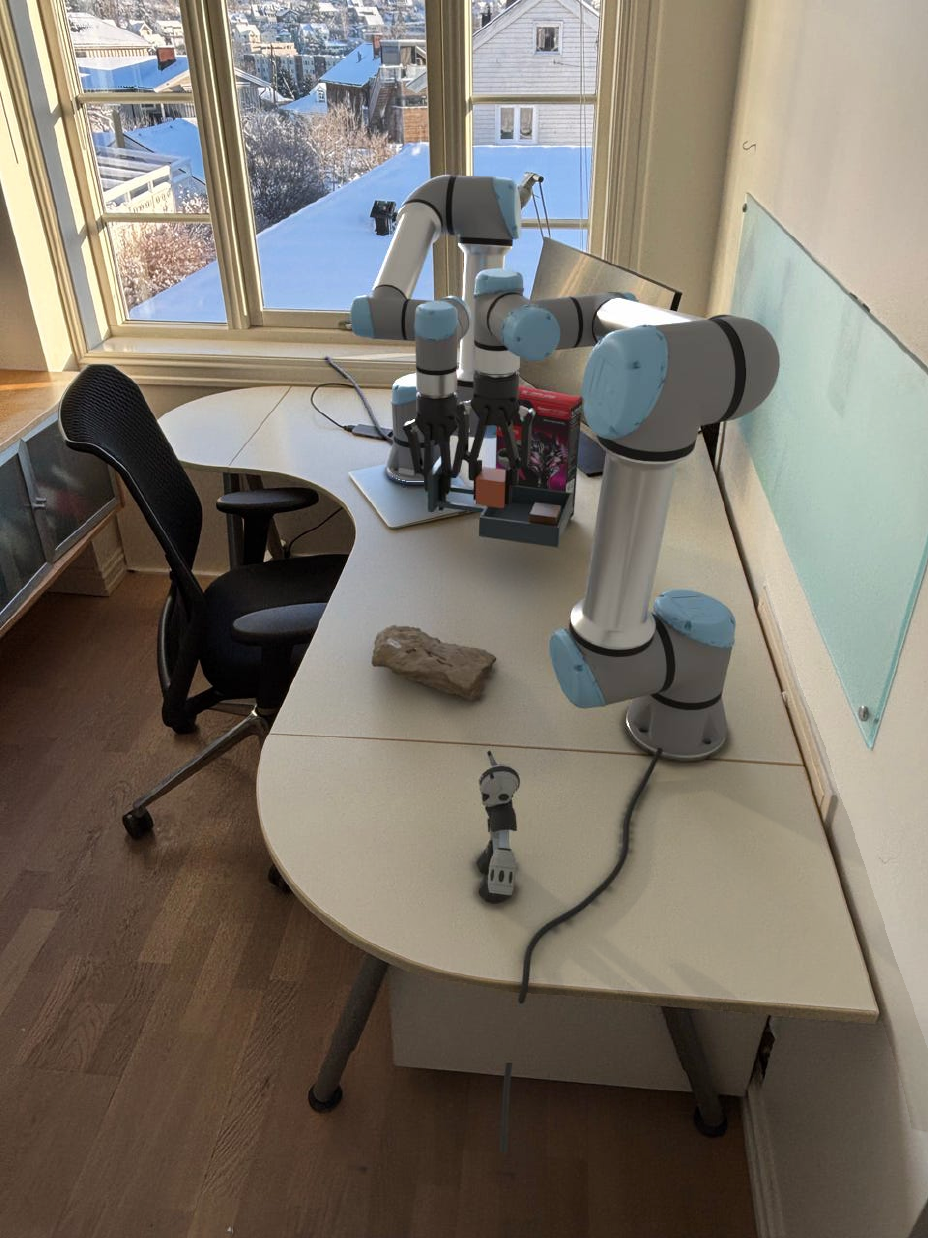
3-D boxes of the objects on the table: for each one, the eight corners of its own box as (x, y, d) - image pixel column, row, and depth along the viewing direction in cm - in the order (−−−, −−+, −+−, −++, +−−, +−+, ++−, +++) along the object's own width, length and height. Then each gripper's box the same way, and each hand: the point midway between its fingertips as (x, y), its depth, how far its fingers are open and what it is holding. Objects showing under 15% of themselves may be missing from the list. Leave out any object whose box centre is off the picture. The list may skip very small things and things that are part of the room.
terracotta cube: (503, 508, 161) (503, 482, 158) (475, 504, 162) (475, 478, 159) (510, 495, 165) (510, 470, 162) (483, 492, 166) (483, 466, 163)
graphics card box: (491, 511, 204) (494, 391, 189) (505, 498, 209) (509, 381, 194) (563, 528, 197) (572, 406, 182) (575, 515, 202) (585, 395, 187)
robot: (522, 941, 111) (530, 823, 99) (481, 942, 110) (485, 824, 99) (507, 820, 127) (513, 708, 116) (472, 821, 127) (474, 708, 115)
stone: (347, 674, 149) (354, 641, 146) (379, 641, 162) (386, 611, 160) (469, 718, 145) (478, 685, 143) (492, 681, 159) (500, 650, 156)
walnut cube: (528, 537, 173) (529, 513, 170) (533, 525, 177) (535, 502, 174) (554, 541, 172) (556, 517, 169) (559, 529, 176) (561, 505, 173)
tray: (572, 511, 183) (576, 464, 177) (558, 547, 171) (561, 499, 165) (445, 494, 189) (445, 448, 183) (423, 528, 177) (422, 480, 171)
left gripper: (479, 388, 170) (477, 503, 183) (406, 380, 173) (409, 494, 186) (469, 402, 164) (467, 520, 177) (393, 394, 167) (397, 510, 180)
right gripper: (555, 368, 151) (547, 496, 164) (450, 357, 155) (450, 483, 168) (545, 383, 145) (537, 515, 158) (436, 371, 149) (438, 501, 162)
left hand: (437, 506), depth 182 cm, fingers closed on tray
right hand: (492, 498), depth 163 cm, fingers closed on terracotta cube, 5 cm apart
